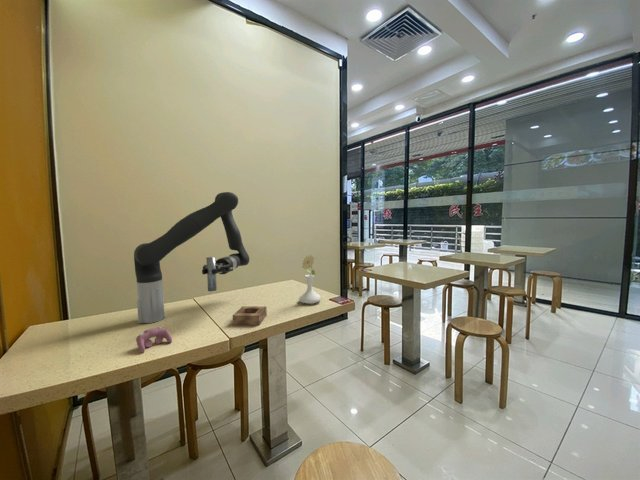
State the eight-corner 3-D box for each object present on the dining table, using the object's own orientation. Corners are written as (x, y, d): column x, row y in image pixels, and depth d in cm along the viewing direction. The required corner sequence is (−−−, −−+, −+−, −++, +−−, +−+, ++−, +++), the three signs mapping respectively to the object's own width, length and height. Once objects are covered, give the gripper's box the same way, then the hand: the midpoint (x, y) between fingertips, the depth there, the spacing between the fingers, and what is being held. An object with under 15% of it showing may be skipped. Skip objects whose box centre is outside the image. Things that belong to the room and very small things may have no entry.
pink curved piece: (169, 344, 94) (164, 325, 95) (173, 341, 91) (169, 322, 93) (137, 355, 86) (132, 334, 88) (141, 353, 84) (136, 331, 85)
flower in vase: (296, 300, 138) (295, 253, 136) (317, 297, 141) (316, 252, 139) (302, 307, 125) (301, 256, 123) (325, 305, 129) (324, 255, 127)
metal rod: (208, 291, 108) (206, 258, 107) (207, 289, 111) (206, 257, 110) (217, 290, 110) (215, 257, 108) (216, 288, 113) (215, 256, 112)
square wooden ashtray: (232, 324, 106) (232, 315, 106) (242, 315, 117) (242, 306, 117) (259, 325, 105) (259, 315, 105) (266, 315, 116) (266, 306, 116)
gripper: (211, 256, 124) (191, 262, 107) (240, 257, 123) (224, 263, 106) (211, 272, 125) (191, 280, 108) (240, 272, 124) (225, 281, 107)
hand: (208, 272), depth 107 cm, fingers closed on metal rod, 3 cm apart
